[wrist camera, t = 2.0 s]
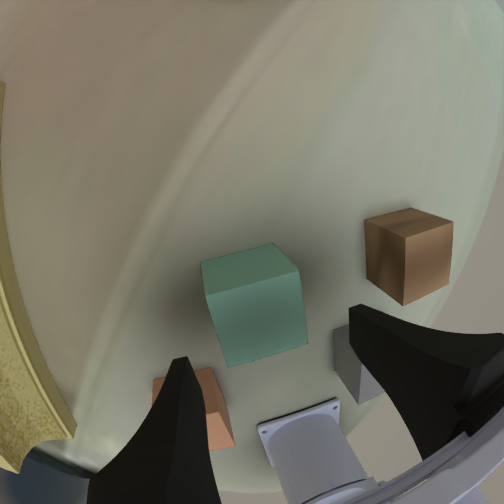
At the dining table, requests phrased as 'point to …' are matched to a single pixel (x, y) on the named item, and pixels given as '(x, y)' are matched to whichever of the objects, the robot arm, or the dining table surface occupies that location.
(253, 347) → the green block
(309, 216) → the dining table surface
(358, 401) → the charcoal block
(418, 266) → the walnut block
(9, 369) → the decorative clock
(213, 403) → the terracotta block
